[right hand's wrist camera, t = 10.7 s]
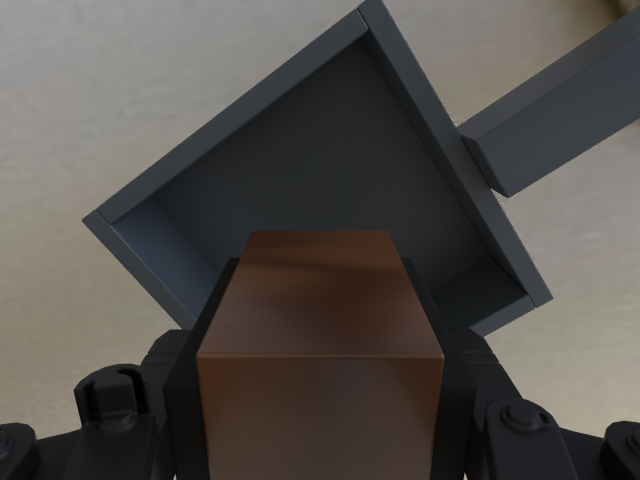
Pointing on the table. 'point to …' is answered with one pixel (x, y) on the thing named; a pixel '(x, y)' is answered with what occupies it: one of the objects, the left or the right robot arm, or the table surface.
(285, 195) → the slate tray
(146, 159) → the table surface
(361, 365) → the walnut block
